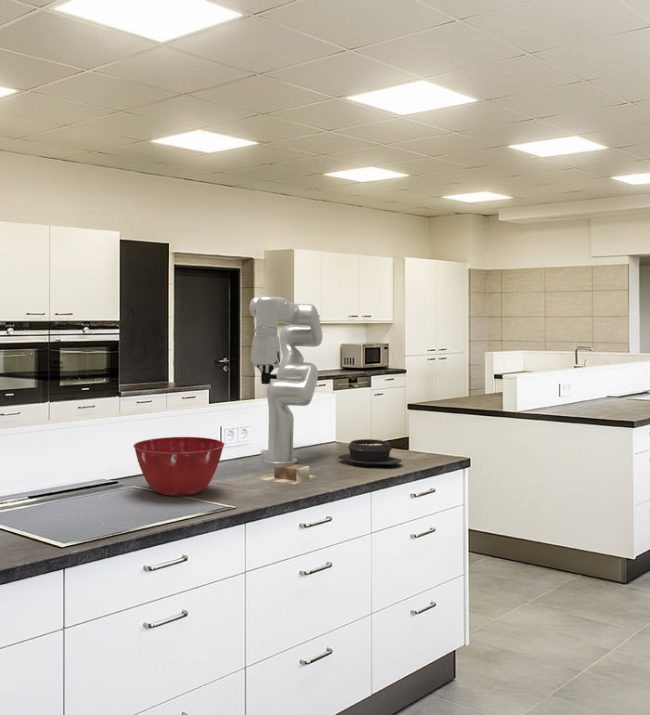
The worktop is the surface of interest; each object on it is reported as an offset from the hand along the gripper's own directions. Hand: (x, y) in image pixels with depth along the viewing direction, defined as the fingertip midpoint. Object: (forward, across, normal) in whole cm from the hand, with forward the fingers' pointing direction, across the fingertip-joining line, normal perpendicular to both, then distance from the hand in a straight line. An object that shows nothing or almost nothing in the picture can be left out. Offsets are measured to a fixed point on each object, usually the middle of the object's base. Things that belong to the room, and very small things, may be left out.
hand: (265, 383), depth 292 cm
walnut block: (+29, +9, -4) cm, 31 cm away
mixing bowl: (+32, -6, -40) cm, 52 cm away
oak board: (+32, +12, -4) cm, 34 cm away
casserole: (+32, +23, +38) cm, 55 cm away
